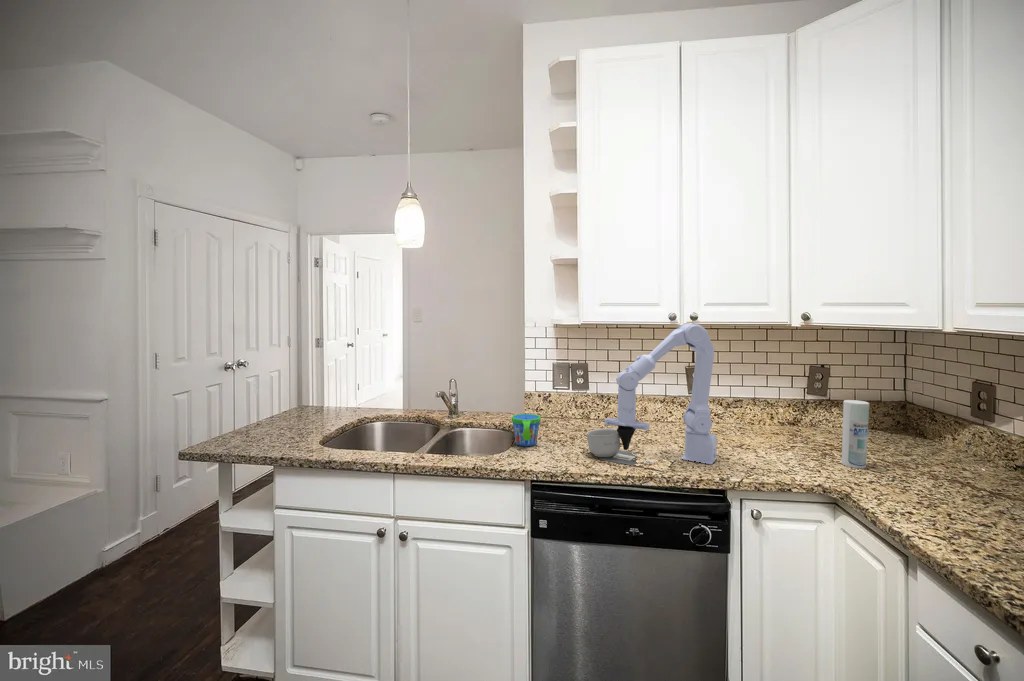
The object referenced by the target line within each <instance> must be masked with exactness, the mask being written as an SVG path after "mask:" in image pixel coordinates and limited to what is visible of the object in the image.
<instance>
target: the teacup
mask: <svg viewBox="0 0 1024 681" xmlns="http://www.w3.org/2000/svg"><path fill="white" fill-rule="evenodd" d="M586 436H587V438H586V439H587V446H588V450H589V451H590V453H591V454H593V455H594V456H595V457H597V458H601V457H611V456H614V455H615V454H616V453H617V452H618V451H619V450H621V438H620V436H619V433H618V432H617V429H616V428H614V427H611V428H597V429H593V430H589V431H587V432H586Z"/></svg>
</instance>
